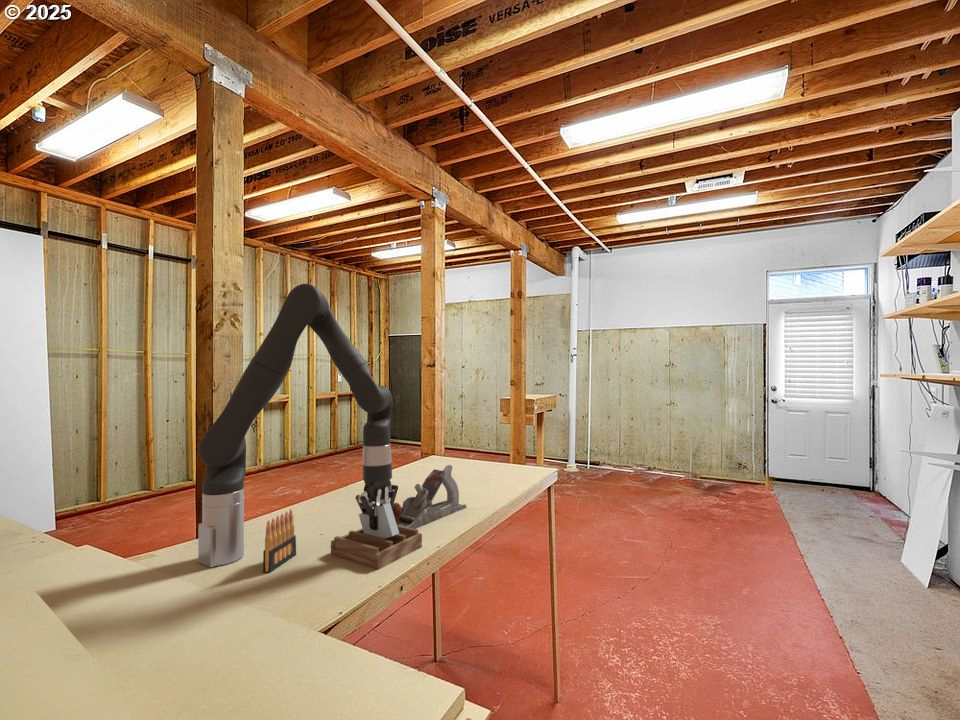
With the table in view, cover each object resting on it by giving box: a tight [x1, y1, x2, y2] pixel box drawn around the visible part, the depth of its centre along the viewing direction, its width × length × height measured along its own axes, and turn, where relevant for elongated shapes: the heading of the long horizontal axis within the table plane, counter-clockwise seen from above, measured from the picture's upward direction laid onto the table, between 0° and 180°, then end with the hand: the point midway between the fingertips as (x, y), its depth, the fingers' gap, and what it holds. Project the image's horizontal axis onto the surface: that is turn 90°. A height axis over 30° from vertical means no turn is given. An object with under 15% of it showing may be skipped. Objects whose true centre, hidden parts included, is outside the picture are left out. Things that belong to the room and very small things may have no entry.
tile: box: [358, 502, 399, 539], centre depth 119 cm, size 2×10×8 cm, turn 57°
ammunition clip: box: [262, 508, 297, 574], centre depth 112 cm, size 11×2×12 cm, turn 169°
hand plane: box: [392, 464, 467, 530], centre depth 145 cm, size 9×33×15 cm, turn 144°
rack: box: [330, 525, 423, 570], centre depth 119 cm, size 16×17×4 cm
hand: (378, 527), depth 119 cm, fingers closed on tile, 2 cm apart
